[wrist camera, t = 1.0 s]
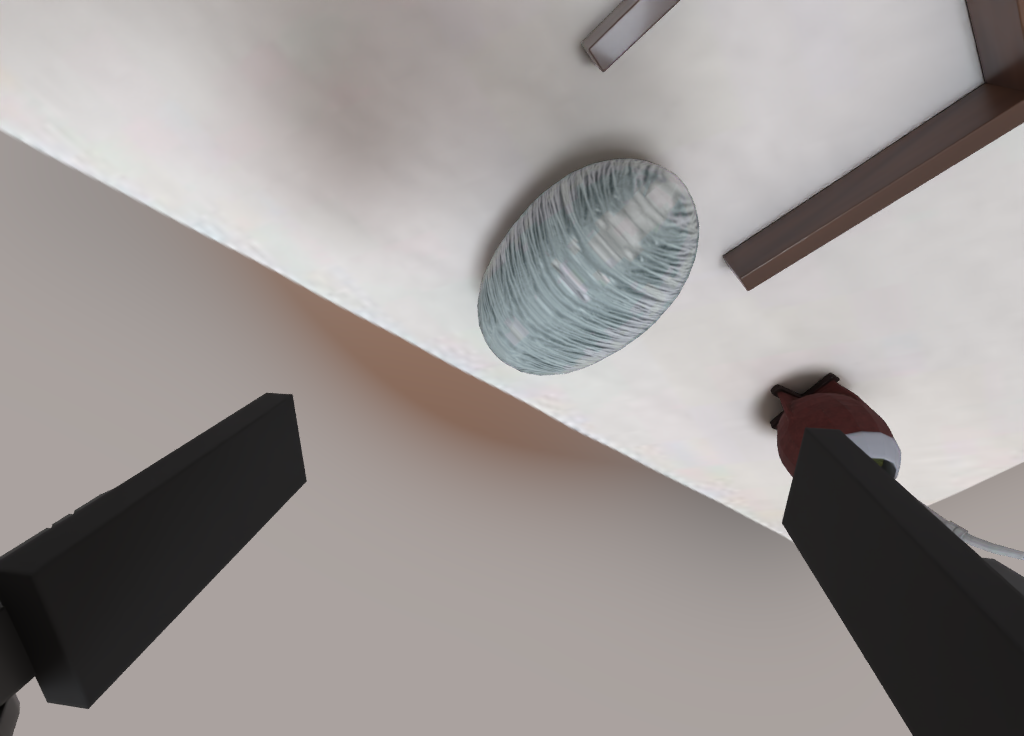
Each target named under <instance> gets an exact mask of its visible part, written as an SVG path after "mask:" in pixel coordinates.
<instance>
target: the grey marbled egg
mask: <svg viewBox="0 0 1024 736" xmlns="http://www.w3.org/2000/svg"><path fill="white" fill-rule="evenodd" d="M698 238H699V222H698V216H697V212H696V208H695V204H694V201H693V199H692V197H691V195H690V193H689V191H688V189H687V187H686V186H685V185H684V183H683V182H682V180H680V179H679V178H678V177H677V176H676V175H675V174H674V173H672V172H670V171H668V170H667V169H665V168H663V167H661V166H660V165H657V164H654V163H651V162H647V161H644V160H639V159H614V160H606V161H602V162H598V163H594V164H590V165H588V166H585V167H583V168H581V169H579V170H576V171H574V172H572V173H570V174H568V175H567V176H565V177H564V178H562V179H561V180H560V181H558V182H557V183H555V184H554V185H553V186H551V187H550V188H549V189H547V190H546V191H545V192H543V193H542V194H541V195H540V196H539V197H538V198H537V199H536V200H535V201H534V202H532V203H531V205H530V206H529V207H528V208H527V209H526V210H525V211H524V212H523V214H522V215H521V216H520V218H519V219H518V220H517V221H516V222H515V223H514V224H513V225H512V227H511V229H510V230H509V232H508V233H507V235H506V236H505V238H504V239H503V241H502V242H501V243H500V245H499V246H498V248H497V250H496V251H495V253H494V255H493V257H492V259H491V261H490V263H489V265H488V267H487V269H486V272H485V274H484V277H483V279H482V283H481V288H480V293H479V298H478V305H477V307H478V318H479V326H480V329H481V331H482V334H483V336H484V339H485V341H486V343H487V345H488V346H489V348H490V349H491V350H492V352H493V353H494V354H495V355H496V356H497V357H498V358H499V359H500V360H501V361H503V362H504V363H505V364H507V365H509V366H511V367H513V368H515V369H517V370H519V371H521V372H525V373H529V374H535V375H555V374H565V373H570V372H573V371H576V370H579V369H582V368H585V367H587V366H590V365H592V364H594V363H596V362H598V361H600V360H602V359H604V358H606V357H608V356H609V355H611V354H613V353H615V352H617V351H618V350H620V349H622V348H624V347H625V346H626V345H628V344H629V343H630V342H632V341H633V340H635V339H636V338H638V337H639V336H640V335H641V334H643V333H644V332H645V331H646V330H647V329H648V328H650V327H651V326H652V325H653V324H654V323H655V322H656V321H657V320H658V319H659V318H660V316H661V315H662V314H663V313H664V312H665V311H666V309H667V308H668V307H669V306H670V305H671V304H672V302H673V301H674V300H675V299H676V297H677V296H678V295H679V293H680V291H681V289H682V287H683V285H684V284H685V282H686V280H687V278H688V276H689V274H690V271H691V268H692V266H693V263H694V260H695V257H696V252H697V247H698Z"/></svg>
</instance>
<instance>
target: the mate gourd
mask: <svg viewBox="0 0 1024 736" xmlns="http://www.w3.org/2000/svg"><path fill="white" fill-rule="evenodd" d="M839 380H840V379H839V378H838V377H836V375H834V374H832V373H829V374H828V375H827V376H825V377H824V378H823V379H821V380H820V381H819V382H818V383H817V384H815V385H814V386H813V387H812V388H811V389H809V390H808V391H807V392H805V393H804V394H798V393H796V392H794V391H791V390H789V389H787V388H785V387H783V386H780V385H776V386H775V387H773V388H772V389H771V392H772V394H773V395H775V396H776V397H778V398H779V399H780V401H781V404H782V407H783V409H784V411H783V412H782V413H780V414H779V415H778V416H777V417H776V418H774V419H773V420H772V421H771V422H770V424H771V426H772V428H773V429H776V430H777V446H778V452H779V456H780V459H781V461H782V463H783V465H784V466H785V468H786V469H787V471H788V472H789V473H790V475H791V476H792V477H793V475H794V471H795V467H796V463H797V459H798V455H799V451H800V447H801V443H802V438H803V434H804V430H805V427H807V428H823V429H838V430H841V431H842V432H843V433H844V434H845V435H846V436H847V437H848V438H850V439H851V440H852V441H853V442H854V443H855V444H856V445H857V446H858V447H859V448H861V449H862V450H863V451H864V452H865V453H866V454H867V455H868V456H869V457H871V458H872V459H873V460H874V461H875V462H876V463H877V464H878V465H879V466H881V467H882V468H883V469H884V470H885V471H886V472H887V473H888V474H889V475H891V476H892V477H893V478H894V479H896V478H897V475H898V472H899V469H900V463H901V450H900V448H899V446H898V444H897V442H896V440H895V439H894V437H893V435H892V433H891V431H890V429H889V427H888V426H887V424H886V423H885V421H884V420H883V419H882V418H881V417H880V416H879V415H878V414H877V413H876V412H875V411H873V410H872V409H871V408H870V407H869V406H868V405H867V404H866V403H865V402H863V401H862V400H861V399H860V398H859V397H858V396H857V395H856V394H854V393H853V392H851V391H850V390H848V389H846V388H844V387H843V386H841V385H839V384H838V383H837V382H838V381H839ZM918 501H919V500H918ZM919 502H920V501H919ZM920 503H922V502H920ZM922 504H923V503H922ZM923 505H924V506H925V507H926V508H927V509H928V510H929V511H930V512H932V513H933V514H934V515H935V516H936V517H937V518H938V519H939V520H940V521H941V522H943V523H944V524H945V525H946V526H947V527H948V528H949V529H950V530H951V531H953V532H954V533H955V534H956V535H957V536H958V537H959V538H960V539H961V540H963V541H964V542H966V543H968V544H969V545H972V546H974V547H977V548H980V549H983V550H986V551H989V552H991V553H995V554H999V555H1004V556H1008V557H1013V558H1017V559H1021V560H1024V552H1022V551H1018V550H1014V549H1011V548H1007V547H1004V546H1000V545H996V544H993V543H990V542H988V541H985V540H982V539H979V538H976V537H974V536H972V535H970V534H968V531H967V530H965V529H964V528H962V527H960V526H958V525H957V524H955V523H954V522H952V521H947V520H946V519H944V518H943V517H942V516H940V515H939V514H937V513H936V512H934V511H933V510H931V509H930V508H929V507H927V506H926V505H925V504H923Z"/></svg>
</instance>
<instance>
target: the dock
mask: <svg viewBox="0 0 1024 736" xmlns="http://www.w3.org/2000/svg"><path fill="white" fill-rule="evenodd" d="M679 1H680V0H624V1H623V2H622V3H621V4H620V5H619V6H617V7H616V8H615V9H614V10H613V11H612V12H611V13H610V14H609V15H608V16H607V17H606V18H605V19H604V20H603V21H602V22H601V23H600V24H599V25H598V26H597V27H596V28H595V29H594V30H593V31H592V32H591V33H590V34H589V35H588V36H587V37H586V38H585V39H584V40H583V41H582V43H581V44H582V46H583V48H584V49H585V51H586V52H587V54H588V55H589V57H590V58H591V60H592V61H593V63H594V64H595V65H596V66H597V67H598V68H599V69H600V70H601V71H602V72H604V71H606V70H607V69H608V68H609V67H610V66H611V65H612V64H613V63H614V62H615V61H616V60H617V59H618V58H619V57H620V56H622V55H623V54H624V53H625V52H626V51H627V50H628V49H629V48H630V47H631V46H632V45H633V44H634V43H635V42H636V41H637V40H639V39H640V38H641V37H642V36H643V35H644V34H645V33H646V32H647V31H648V30H649V29H650V28H651V27H652V26H653V25H654V24H656V23H657V22H658V21H659V20H660V19H661V18H662V17H663V16H664V15H665V14H666V13H667V12H668V11H669V10H670V9H671V8H673V7H674V6H675V5H676V4H677V3H678V2H679ZM966 1H967V6H968V10H969V14H970V19H971V23H972V27H973V31H974V36H975V40H976V44H977V48H978V53H979V57H980V61H981V66H982V70H983V74H984V78H985V84H983V85H982V86H980V87H979V88H977V89H976V90H974V91H973V92H971V93H970V94H968V95H967V96H965V97H964V98H962V99H961V100H959V101H958V102H956V103H954V104H953V105H951V106H950V107H948V108H947V109H945V110H944V111H942V112H941V113H939V114H938V115H936V116H935V117H933V118H932V119H930V120H929V121H927V122H926V123H924V124H923V125H921V126H920V127H918V128H917V129H915V130H914V131H912V132H911V133H909V134H908V135H906V136H905V137H903V138H901V139H900V140H898V141H897V142H895V143H894V144H892V145H891V146H889V147H888V148H886V149H885V150H883V151H882V152H880V153H879V154H877V155H876V156H874V157H873V158H871V159H870V160H868V161H867V162H865V163H864V164H862V165H861V166H859V167H858V168H856V169H855V170H853V171H851V172H850V173H848V174H847V175H845V176H844V177H842V178H841V179H839V180H838V181H836V182H835V183H833V184H832V185H830V186H829V187H827V188H826V189H824V190H823V191H821V192H820V193H818V194H817V195H815V196H814V197H812V198H811V199H809V200H808V201H806V202H805V203H803V204H802V205H800V206H798V207H797V208H795V209H794V210H792V211H791V212H789V213H788V214H786V215H785V216H783V217H782V218H780V219H779V220H777V221H776V222H774V223H773V224H771V225H770V226H768V227H767V228H765V229H764V230H762V231H761V232H759V233H758V234H756V235H755V236H753V237H752V238H750V239H749V240H747V241H745V242H744V243H742V244H741V245H739V246H738V247H736V248H735V249H733V250H732V251H730V252H729V253H727V254H726V255H724V256H723V258H724V260H725V261H726V263H727V264H728V266H729V267H730V269H731V270H732V271H733V273H734V274H735V275H736V277H737V278H738V279H739V281H740V282H741V283H742V285H743V286H744V287H745V288H746V290H747V291H749V290H751V289H753V288H754V287H756V286H758V285H759V284H761V283H762V282H764V281H766V280H767V279H769V278H771V277H772V276H774V275H776V274H777V273H779V272H780V271H782V270H784V269H785V268H787V267H789V266H790V265H792V264H794V263H795V262H797V261H798V260H800V259H802V258H803V257H805V256H807V255H808V254H810V253H811V252H813V251H815V250H816V249H818V248H820V247H821V246H823V245H825V244H826V243H828V242H829V241H831V240H833V239H834V238H836V237H838V236H839V235H841V234H842V233H844V232H846V231H847V230H849V229H851V228H852V227H854V226H856V225H857V224H859V223H860V222H862V221H864V220H865V219H867V218H869V217H870V216H872V215H873V214H875V213H877V212H878V211H880V210H882V209H883V208H885V207H887V206H888V205H890V204H891V203H893V202H895V201H896V200H898V199H900V198H901V197H903V196H904V195H906V194H908V193H909V192H911V191H913V190H914V189H916V188H918V187H919V186H921V185H922V184H924V183H926V182H927V181H929V180H931V179H932V178H934V177H935V176H937V175H939V174H940V173H942V172H944V171H945V170H947V169H949V168H950V167H952V166H953V165H955V164H957V163H958V162H960V161H962V160H963V159H965V158H967V157H968V156H970V155H971V154H973V153H975V152H976V151H978V150H980V149H981V148H983V147H984V146H986V145H988V144H989V143H991V142H993V141H994V140H996V139H998V138H999V137H1001V136H1002V135H1004V134H1006V133H1007V132H1009V131H1011V130H1012V129H1014V128H1015V127H1017V126H1019V125H1020V124H1022V123H1024V0H966Z"/></svg>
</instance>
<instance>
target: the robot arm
mask: <svg viewBox="0 0 1024 736" xmlns="http://www.w3.org/2000/svg"><path fill="white" fill-rule="evenodd" d="M305 482H306V475H305V469H304V462H303V457H302V450H301V444H300V438H299V432H298V425H297V419H296V413H295V407H294V401H293V395H292V394H276V393H266V394H264V395H262V396H261V397H259V398H258V399H256V400H254V401H253V402H251V403H250V404H248V405H246V406H245V407H243V408H242V409H240V410H238V411H237V412H235V413H234V414H232V415H230V416H229V417H227V418H226V419H224V420H222V421H221V422H219V423H218V424H216V425H215V426H213V427H211V428H210V429H208V430H207V431H205V432H204V433H202V434H200V435H199V436H197V437H196V438H194V439H192V440H191V441H189V442H188V443H186V444H184V445H183V446H181V447H180V448H178V449H176V450H175V451H173V452H172V453H170V454H168V455H167V456H165V457H164V458H162V459H160V460H159V461H157V462H156V463H154V464H152V465H151V466H150V467H148V468H146V469H145V470H143V471H142V472H140V473H138V474H137V475H135V476H133V477H132V478H130V479H129V480H127V481H125V482H124V483H122V484H121V485H119V486H117V487H116V488H114V489H112V490H110V491H107V492H105V493H103V494H101V495H99V496H97V497H96V498H94V499H92V500H91V501H89V502H88V503H86V504H85V505H83V506H81V507H80V508H78V509H76V510H75V511H74V514H68V515H67V516H65V517H63V518H62V519H60V520H59V521H57V522H55V523H54V524H53V525H52V528H46V529H44V530H43V531H41V532H39V533H38V534H36V535H35V536H33V537H31V538H30V539H28V540H27V541H25V542H24V543H22V544H20V545H19V546H17V547H16V548H14V549H12V550H11V551H9V552H7V553H6V554H4V555H3V556H1V557H0V736H12V735H13V732H14V728H15V726H16V722H17V719H18V716H19V710H20V707H19V706H20V703H19V700H18V698H17V696H16V694H15V693H16V692H18V691H19V690H20V689H21V688H22V687H23V686H24V685H25V684H27V683H28V682H29V681H30V680H31V679H32V678H33V677H36V679H37V681H38V683H39V686H40V687H41V690H42V692H43V694H44V696H45V698H46V701H47V702H48V703H54V704H61V705H67V706H73V707H79V708H86V709H89V708H90V707H91V705H93V703H94V702H95V701H96V700H97V699H98V698H99V697H100V696H101V695H102V694H103V693H104V692H105V691H106V690H107V689H108V688H109V687H110V686H111V685H112V684H113V682H115V681H116V679H117V678H118V677H119V676H120V675H121V674H122V673H123V672H124V671H125V670H126V669H127V668H128V667H129V666H130V665H131V664H132V663H133V662H134V661H135V660H136V658H138V657H139V655H140V654H141V653H142V652H143V651H144V650H145V649H146V648H147V647H148V646H149V645H150V644H151V643H152V642H153V641H154V640H155V639H156V637H158V636H159V635H160V634H161V632H162V631H163V630H164V629H165V628H166V627H167V626H168V625H169V624H170V623H171V622H172V621H173V620H174V619H175V618H176V617H177V616H178V615H179V614H180V613H181V612H182V611H183V610H184V609H185V607H186V606H187V605H188V604H189V603H190V602H191V601H192V600H193V599H194V598H195V597H196V596H197V595H198V594H199V593H200V592H201V591H202V590H203V589H204V588H205V586H207V584H209V582H210V581H211V580H212V579H213V578H214V577H215V576H216V575H217V574H218V573H219V572H220V571H221V570H222V569H223V568H224V567H225V566H226V565H227V564H228V563H229V562H230V561H231V559H232V558H233V557H234V556H235V555H236V554H237V553H238V552H239V551H240V550H241V549H242V548H243V547H244V546H245V545H246V544H247V543H248V542H249V541H250V540H251V539H252V538H253V537H254V536H255V534H256V533H257V532H258V531H259V530H260V529H261V528H262V527H263V526H264V525H265V524H266V523H267V522H268V521H269V520H270V519H271V518H272V517H273V516H274V515H275V514H276V513H277V512H278V510H279V509H280V508H281V507H282V506H283V505H284V504H285V503H286V502H287V501H288V500H289V499H290V498H291V497H292V496H293V495H294V494H295V493H296V492H297V491H298V490H299V489H300V488H301V487H302V485H303V484H304V483H305ZM782 524H783V525H784V527H785V529H786V530H787V532H788V534H789V535H790V537H791V538H792V540H793V542H794V543H795V545H796V546H797V548H798V550H799V551H800V553H801V554H802V556H803V558H804V559H805V561H806V563H807V564H808V566H809V568H810V569H811V571H812V573H813V574H814V576H815V577H816V579H817V581H818V582H819V584H820V585H821V587H822V589H823V590H824V592H825V594H826V595H827V597H828V598H829V600H830V602H831V603H832V605H833V607H834V608H835V610H836V611H837V613H838V615H839V616H840V618H841V619H842V621H843V623H844V624H845V626H846V628H847V629H848V631H849V633H850V634H851V636H852V637H853V639H854V641H855V642H856V644H857V645H858V647H859V649H860V650H861V652H862V654H863V655H864V657H865V659H866V660H867V662H868V663H869V665H870V667H871V668H872V670H873V671H874V673H875V675H876V676H877V678H878V680H879V681H880V683H881V685H882V686H883V688H884V689H885V691H886V693H887V694H888V696H889V698H890V699H891V701H892V702H893V704H894V706H895V707H896V709H897V710H898V712H899V714H900V715H901V717H902V719H903V720H904V722H905V723H906V725H907V727H908V728H909V730H910V732H911V733H912V735H913V736H1024V577H1023V576H1021V575H1019V574H1018V573H1016V572H1015V571H1013V570H1011V569H1009V568H1008V567H1006V566H1004V565H1003V564H1001V563H1000V562H998V561H996V560H995V559H988V558H981V557H980V556H979V555H978V554H977V553H976V552H975V551H974V550H973V549H971V548H970V547H969V546H968V545H967V544H966V543H965V542H964V541H963V540H961V539H960V538H959V537H958V536H957V535H956V534H955V533H954V532H953V531H951V530H950V529H949V528H948V527H947V526H946V525H945V524H944V523H943V522H941V521H940V520H939V519H938V518H937V517H936V516H935V515H934V514H933V513H932V512H930V511H929V510H928V509H927V508H926V507H925V506H924V505H923V504H922V503H920V502H919V501H918V500H917V499H916V498H915V497H914V496H913V495H912V494H910V493H909V492H908V491H907V490H906V489H905V488H904V487H903V486H902V485H900V484H899V483H898V482H897V481H896V480H895V479H894V478H893V477H892V476H891V475H889V474H888V473H887V472H886V471H885V470H884V469H883V468H882V467H881V466H879V465H878V464H877V463H876V462H875V461H874V460H873V459H872V458H871V457H869V456H868V455H867V454H866V453H865V452H864V451H863V450H862V449H861V448H859V447H858V446H857V445H856V444H855V443H854V442H853V441H852V440H851V439H850V438H848V437H847V436H846V435H845V434H844V433H843V432H842V431H841V430H838V429H823V428H807V427H805V430H804V434H803V438H802V443H801V447H800V451H799V455H798V459H797V463H796V467H795V471H794V475H793V480H792V484H791V488H790V492H789V496H788V500H787V504H786V508H785V512H784V517H783V521H782Z"/></svg>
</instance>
